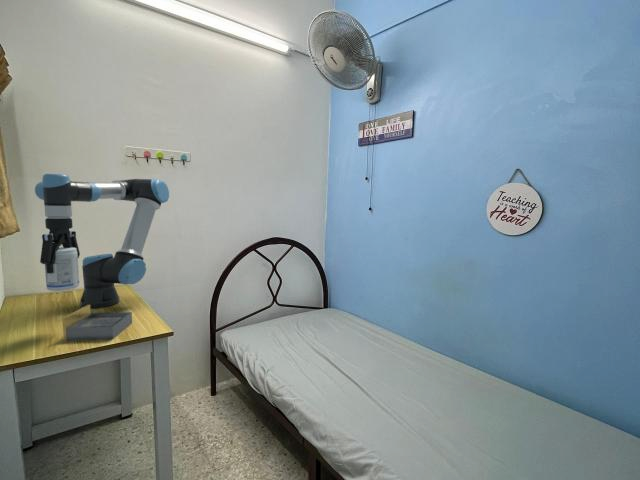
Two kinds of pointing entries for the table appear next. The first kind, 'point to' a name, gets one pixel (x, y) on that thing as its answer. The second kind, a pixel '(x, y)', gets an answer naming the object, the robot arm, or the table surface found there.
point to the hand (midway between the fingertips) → (62, 278)
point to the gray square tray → (94, 325)
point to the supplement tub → (65, 270)
